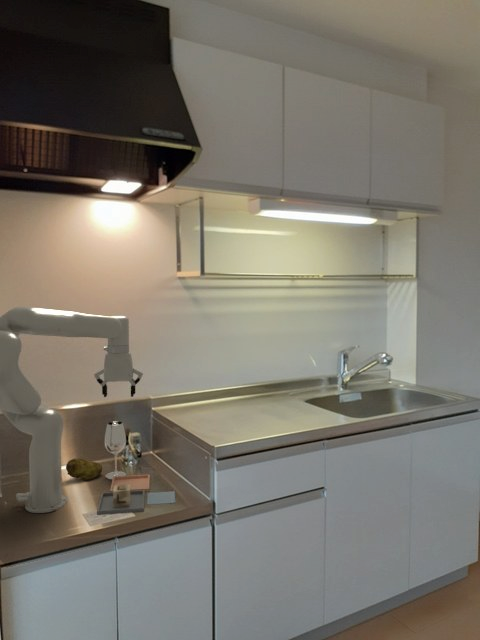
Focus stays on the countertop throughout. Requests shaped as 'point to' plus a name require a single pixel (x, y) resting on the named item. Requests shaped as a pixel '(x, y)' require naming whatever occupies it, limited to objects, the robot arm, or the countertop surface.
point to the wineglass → (115, 443)
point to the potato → (83, 469)
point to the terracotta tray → (132, 482)
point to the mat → (161, 498)
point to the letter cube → (121, 495)
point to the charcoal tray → (108, 508)
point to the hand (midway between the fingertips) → (118, 396)
